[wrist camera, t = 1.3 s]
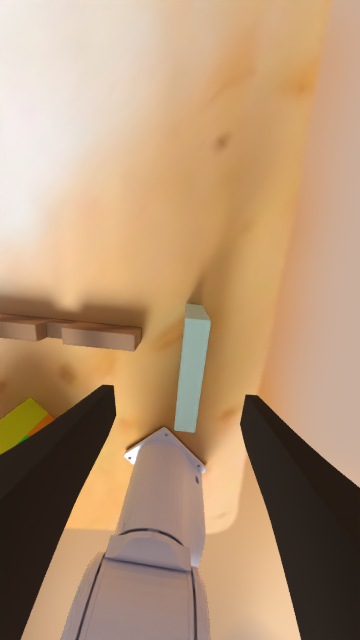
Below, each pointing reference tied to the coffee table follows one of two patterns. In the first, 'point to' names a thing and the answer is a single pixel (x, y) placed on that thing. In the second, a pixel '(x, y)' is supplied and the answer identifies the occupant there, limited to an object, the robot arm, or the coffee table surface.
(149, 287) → the coffee table surface
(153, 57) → the coffee table surface
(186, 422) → the teal plate
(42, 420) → the puzzle toy
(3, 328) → the walnut rail
